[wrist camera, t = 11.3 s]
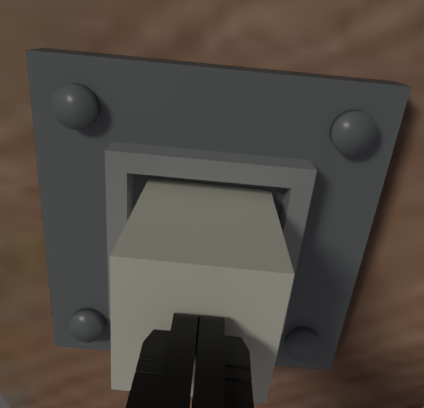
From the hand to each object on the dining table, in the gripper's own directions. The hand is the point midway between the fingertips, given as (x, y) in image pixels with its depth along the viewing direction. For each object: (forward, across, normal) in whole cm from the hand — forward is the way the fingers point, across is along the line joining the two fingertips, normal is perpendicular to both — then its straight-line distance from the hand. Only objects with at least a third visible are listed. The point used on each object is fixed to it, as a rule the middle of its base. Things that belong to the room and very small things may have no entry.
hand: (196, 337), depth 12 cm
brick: (+6, 0, 0) cm, 6 cm away
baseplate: (+8, 0, 0) cm, 8 cm away
